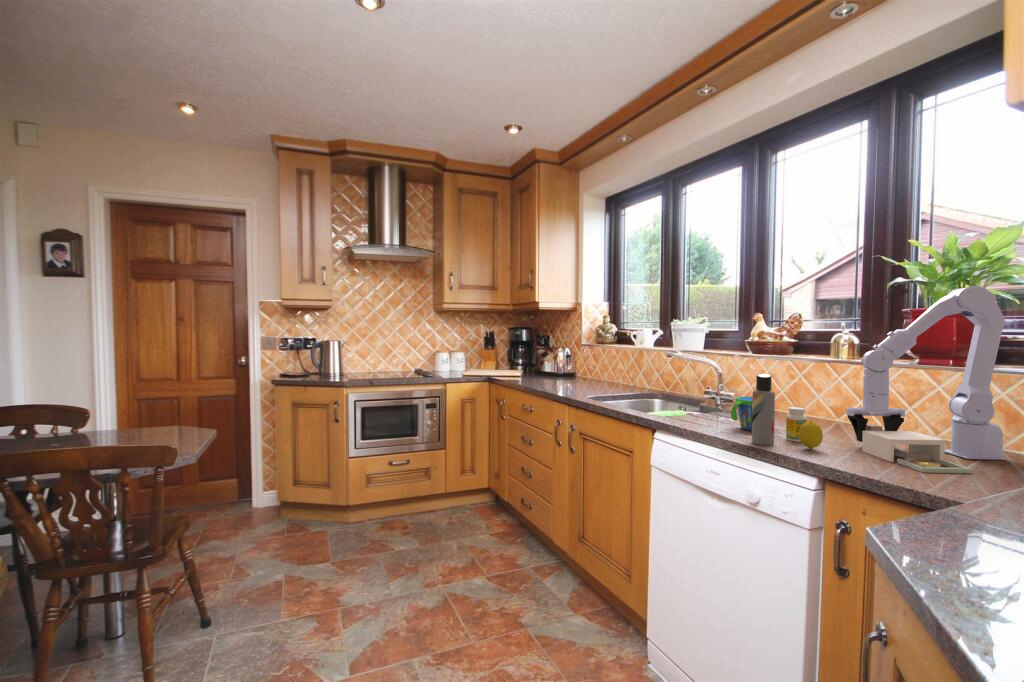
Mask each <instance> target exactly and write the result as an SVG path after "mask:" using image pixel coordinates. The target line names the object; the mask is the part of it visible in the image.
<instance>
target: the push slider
mask: <svg viewBox="0 0 1024 682" xmlns="http://www.w3.org/2000/svg"><path fill="white" fill-rule="evenodd" d="M865 431H883V426H881V425H879V424H876V423H875V424H874V423H873V424H871V423H867V425H866V429H865ZM894 456H897V457H900V458H901V459H904V460H905V461H908V462H911V463H914V460H916V459H921V460H929V461H931V459H930V455H929V454H913V453H910V452H907V451H904V450H901V449H898V448H895V447H894Z"/></svg>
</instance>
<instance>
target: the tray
mask: <svg viewBox="0 0 1024 682" xmlns="http://www.w3.org/2000/svg"><path fill="white" fill-rule="evenodd" d="M896 463H897V464H900V465H902V466H903V467H908V468H909V469H913V470H915V471H918V472H919V473H920V472H921V473H933V474H934V473H937V474H938V473H940V474H942V473H943V474H972V473H973V469H972V468H970V467H967V466H964V465H961V464H957V463H955V462H951V461H949V460H947V459H946V460H945V459H944V460H940V461H939V462H938V463H940V464H941V467H922V466H919V465H916V464H913V463H911V462H908V461H905V459H903V458H896ZM942 465H943V466H945V467H943V466H942Z"/></svg>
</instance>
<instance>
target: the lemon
mask: <svg viewBox="0 0 1024 682" xmlns="http://www.w3.org/2000/svg"><path fill="white" fill-rule="evenodd" d="M799 438H800V441H801V442H800V443H801V444H802V445H803V446H804V447H806V448H808V449H809V450H810V449H811V450H813V449H814V448H817V447H819V446H820V445H821V444H822V442H823V439H824V434H823V430H822V427H821V426H820V425H819V424H818V423H816V422H814V421H813V420H808V421H807V422H806V423H804V424H803V425H802V426H801V427H800V430H799Z"/></svg>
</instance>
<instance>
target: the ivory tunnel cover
mask: <svg viewBox="0 0 1024 682" xmlns="http://www.w3.org/2000/svg"><path fill="white" fill-rule="evenodd" d="M945 442H946V440H945V439H942V438H938V437H934V436H932V435H928V434H924V433H920V432H916V431H913V430H912V431H908V430H904V431H902V430H897V431H885V430H882V431H863V437H862V442H861V444H862V445H861V446H862V448H861V451H862V452H863V453H866V454H869V455H871V456H874V457H876V458H879V459H881V460H884V461H887V462H892V463H893V462H894V457H895V455H894V448H895V445H908V453H910V454H929V455H930V461H934V462H938V463H939V461H940V460H945V452H944V450H945V444H946V443H945Z"/></svg>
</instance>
